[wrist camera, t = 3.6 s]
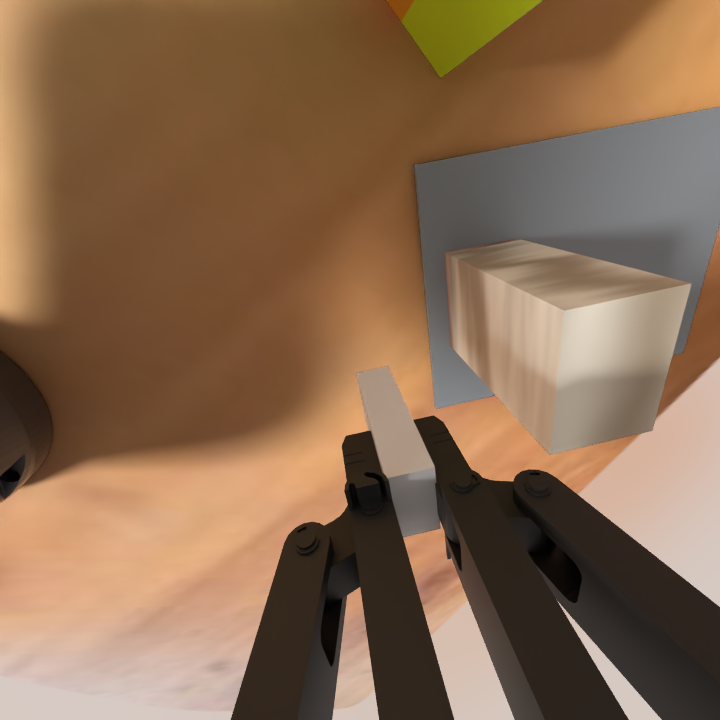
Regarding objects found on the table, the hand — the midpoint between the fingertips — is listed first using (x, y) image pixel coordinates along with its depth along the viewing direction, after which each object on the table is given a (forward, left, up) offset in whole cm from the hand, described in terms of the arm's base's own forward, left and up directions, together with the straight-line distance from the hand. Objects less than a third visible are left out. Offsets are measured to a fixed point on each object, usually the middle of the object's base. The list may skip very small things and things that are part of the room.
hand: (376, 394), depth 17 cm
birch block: (+10, 0, -10) cm, 14 cm away
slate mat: (+17, 0, -10) cm, 19 cm away
